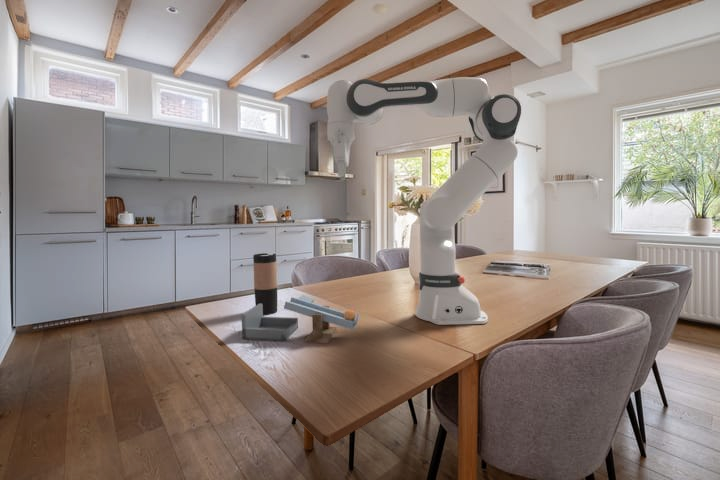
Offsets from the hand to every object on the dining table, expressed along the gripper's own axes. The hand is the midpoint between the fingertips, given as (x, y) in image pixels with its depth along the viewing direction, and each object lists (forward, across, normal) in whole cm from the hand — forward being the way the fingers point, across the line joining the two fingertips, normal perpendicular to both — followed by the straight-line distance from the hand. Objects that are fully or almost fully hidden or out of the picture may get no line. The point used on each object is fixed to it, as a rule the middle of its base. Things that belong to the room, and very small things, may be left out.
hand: (341, 177), depth 113 cm
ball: (+39, -22, -3) cm, 45 cm away
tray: (+45, -18, +20) cm, 53 cm away
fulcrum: (+45, -21, +5) cm, 50 cm away
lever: (+40, -17, +5) cm, 44 cm away
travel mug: (+46, +3, +27) cm, 53 cm away
